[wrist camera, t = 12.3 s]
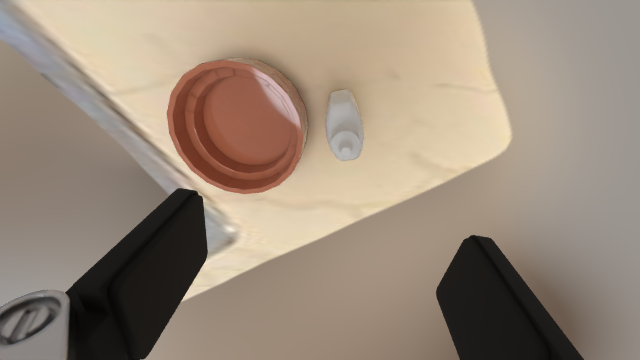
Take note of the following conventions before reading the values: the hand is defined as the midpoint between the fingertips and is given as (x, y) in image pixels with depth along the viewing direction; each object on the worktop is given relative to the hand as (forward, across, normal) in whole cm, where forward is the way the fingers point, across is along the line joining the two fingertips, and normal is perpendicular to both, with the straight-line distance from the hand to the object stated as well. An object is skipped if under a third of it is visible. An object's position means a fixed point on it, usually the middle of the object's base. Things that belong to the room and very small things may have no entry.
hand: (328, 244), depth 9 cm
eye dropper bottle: (+23, -1, +1) cm, 23 cm away
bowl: (+23, +10, +4) cm, 25 cm away
